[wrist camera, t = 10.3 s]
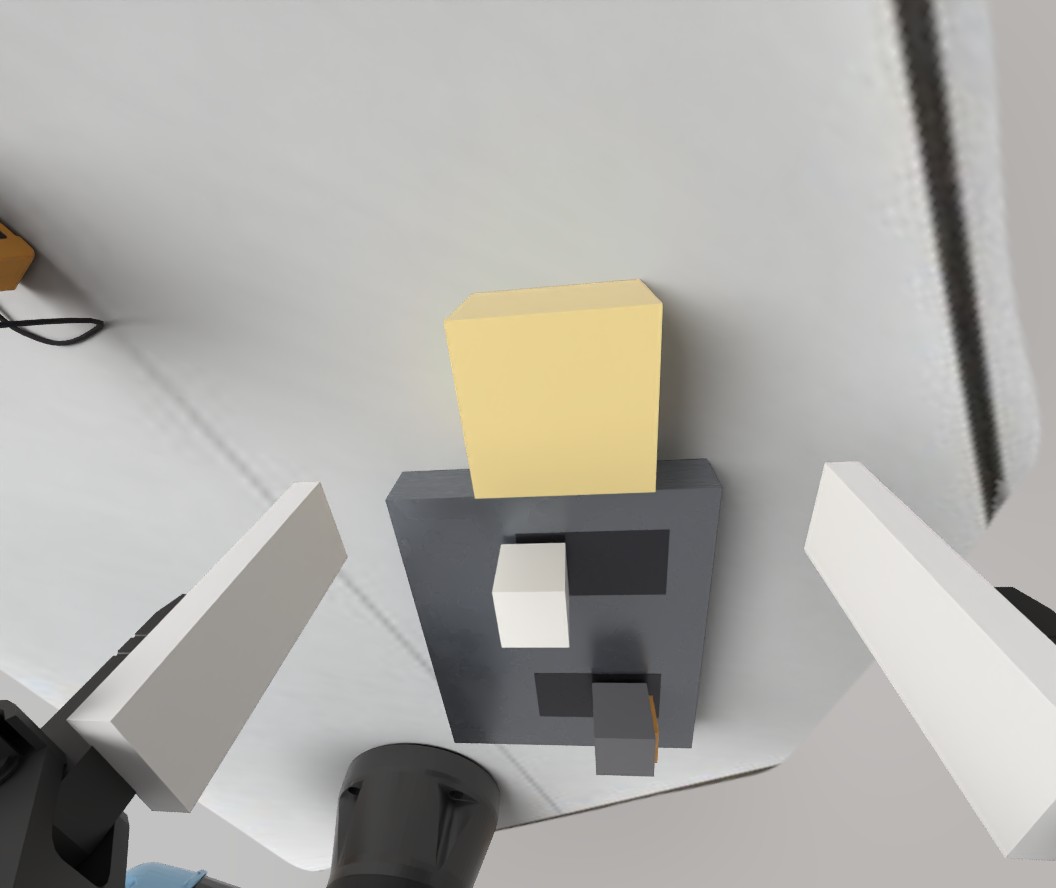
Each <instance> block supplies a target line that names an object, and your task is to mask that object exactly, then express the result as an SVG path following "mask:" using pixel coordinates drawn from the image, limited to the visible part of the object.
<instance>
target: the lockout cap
mask: <svg viewBox="0 0 1056 888" xmlns="http://www.w3.org/2000/svg"><path fill="white" fill-rule="evenodd" d="M662 312H663V303H662V302H661V301H660V300H659V299H658V298H657V297H656V296H655V295H654V294H653V293H652V291H651V290H650V289H649V288H648V287H647V286H646V285H645V284H644V283H643V282H642V281H641V280H640V279H634V280H622V281H611V282H599V283H588V284H576V285H565V286H553V287H542V288H530V289H519V290H507V291H495V292H484V293H472V294H471V295H470V296H469V297H468V298H467V299H466V300H465V301H464V302H463V303H462V304H461V305H460V306H459V307H458V308H457V309H456V310H455V311H454V312H453V313H451V314H450V315H449V316H448V317H447V318H446V319H445V320H444V327H445V333H446V338H447V344H448V349H449V355H450V361H451V366H452V372H453V378H454V383H455V389H456V395H457V400H458V406H459V411H460V417H461V423H462V428H463V434H464V440H465V445H466V451H467V456H468V462H469V468H470V473H471V479H472V485H473V490H474V496H475V499H480V498H508V497H535V496H562V495H590V494H617V493H644V492H655V491H656V466H657V440H658V414H659V389H660V363H661V337H662Z"/></svg>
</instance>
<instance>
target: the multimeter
mask: <svg viewBox="0 0 1056 888" xmlns="http://www.w3.org/2000/svg"><path fill="white" fill-rule="evenodd" d="M34 255H35V252H34V250H33V249H32V248H31V247H30V246H29V245H28V244H27V243H26V242H25V241H24V240H23V239H22V238H21V237H20V236H15V235H14V234H13V233H12V232H11V231H10V230H8V229H7V228H6V227H5V226H4V225H3V224H1V223H0V291H5V290H15V289H16V287H17V285H18V284H19V282H20V280H21V279H22V277H23V275H24V274H25V272H26V270H27V269H28V267H29V266H30V264H31V262H32V261H33V259H34ZM0 321H1V322H0V328H6V327H9V328H11V329H12V330H14V331H16V332H18V333H20V334H22V335H24V336H26V337H29V338H31V339H33V340H36V341H39V342H42V343H45V344H49V345H57V346H61V345H69V344H73V343H77V342H79V341H82V340H84V339H86V338H88V337H90V336H92V335H93V334H95V333H96V332H98V331H99V330H101V329H102V327H103V324H104V323H103V321H100V320H96V319H92V318H56V319H37V320H23V321H8V320H7V319H5V318H4V317H3V316H2V315H1V314H0ZM62 323H94V324H97V325H96V326H95V327H94V328H92V329H91V330H89V331H88V332H86V333H84V334H83V335H81V336H79V337H76V338H74V339H71V340H67V341H52V340H48V339H44V338H41V337H38V336H36V335H33V334H31V333H29V332H26V331H24V330H22V329H20V328H18V327H19V326H31V325H43V324H62Z"/></svg>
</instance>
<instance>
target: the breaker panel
mask: <svg viewBox="0 0 1056 888" xmlns="http://www.w3.org/2000/svg"><path fill="white" fill-rule="evenodd" d="M721 494H722V486H721V484H720V483H719V481H718V479H717V477H716V475H715V473H714V471H713V470H712V468H711V466H710V464H709V462H708V460H707V459H689V460H666V461H657V466H656V491H655V492H644V493H617V494H590V495H562V496H535V497H508V498H480V499H475V496H474V490H473V485H472V479H471V473H470V469H461V470H438V471H415V472H402V474H401V475H400V477H399V479H398V480H397V482H396V484H395V485H394V487H393V488H392V490H391V492H390V493H389V495H388V497H387V498H386V504H387V507H388V511H389V514H390V518H391V521H392V525H393V528H394V532H395V535H396V539H397V542H398V546H399V549H400V553H401V556H402V560H403V563H404V567H405V570H406V574H407V577H408V581H409V584H410V588H411V591H412V595H413V598H414V602H415V605H416V609H417V612H418V616H419V619H420V623H421V626H422V630H423V633H424V637H425V640H426V644H427V647H428V651H429V654H430V658H431V661H432V665H433V668H434V672H435V675H436V679H437V682H438V686H439V689H440V693H441V696H442V700H443V703H444V707H445V710H446V714H447V717H448V721H449V724H450V728H451V731H452V735H453V738H454V742H455V743H487V744H530V745H573V746H595V737H594V717H593V696H592V683H647V688H648V695H649V696H653V701H654V707H655V713H656V718H657V724H658V730H659V742H658V747H660V748H692V740H693V731H694V723H695V714H696V706H697V697H698V689H699V680H700V672H701V663H702V655H703V646H704V638H705V630H706V621H707V613H708V604H709V596H710V587H711V579H712V570H713V562H714V553H715V545H716V536H717V528H718V519H719V511H720V502H721ZM537 543H565V546H566V560H567V574H568V587H569V648H502V646H501V641H500V635H499V629H498V624H497V618H496V612H495V607H494V601H493V595H492V590H493V584H494V579H495V574H496V569H497V564H498V558H499V553H500V548H501V544H537Z"/></svg>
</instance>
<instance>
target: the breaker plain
mask: <svg viewBox="0 0 1056 888" xmlns="http://www.w3.org/2000/svg"><path fill="white" fill-rule="evenodd" d="M492 595H493V601H494V607H495V612H496V618H497V624H498V629H499V635H500V641H501V646H502V648H569V587H568V574H567V560H566V546H565V543H537V544H501V548H500V553H499V558H498V564H497V569H496V574H495V579H494V584H493V590H492Z"/></svg>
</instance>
